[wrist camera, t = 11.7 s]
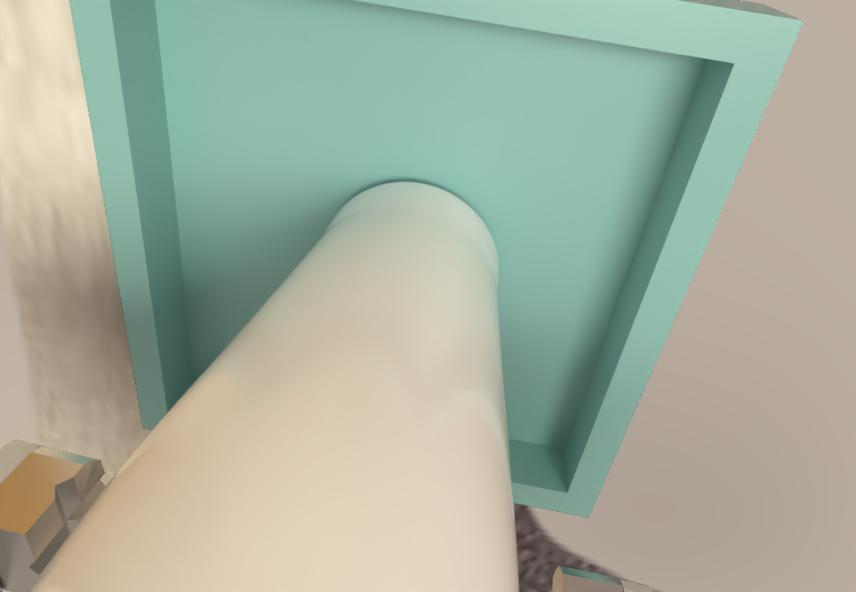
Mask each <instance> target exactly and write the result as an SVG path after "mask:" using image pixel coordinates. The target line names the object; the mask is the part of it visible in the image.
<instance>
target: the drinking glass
mask: <svg viewBox="0 0 856 592" xmlns="http://www.w3.org/2000/svg"><path fill="white" fill-rule="evenodd" d="M498 287H499V258H498V252H497V249H496V245H495V242H494V240H493V237H492V235H491V233H490V231H489V229H488V227H487V226H486V224H485V223H484V221H483V220H482V219H481V217H480V216H479V215H478V214H477V213H476V212H475V211H474V210H473V209H472V208H471V207H470V206H469V205H468V204H467V203H465V202H464V201H463V200H461V199H460V198H458V197H457V196H455V195H453V194H452V193H450V192H448V191H446V190H443V189H441V188H438V187H435V186H432V185H428V184H424V183H418V182H392V183H386V184H382V185H378V186H375V187H372V188H369V189H367V190H365V191H363V192H361V193H360V194H358V195H356V196H355V197H353V198H352V199H351V200H349V201H348V202H347V203H346V204H345V205H344V206H343V207H342V208H341V209H340V210H339V211H338V212H337V214H336V215H335V216H334V217H333V219H332V220H331V222H330V223H329V225H328V227H327V228H326V230H325V231H324V233H323V235H322V236H321V238H320V239H319V240H318V241H317V243H316V244H315V245H314V246H313V247H312V249H311V250H310V251H309V252H308V253H307V254H306V256H305V257H304V258H303V259H302V260H301V261H300V263H299V264H298V265H297V266H296V267H295V268H294V269H293V271H292V272H291V273H290V274H289V275H288V276H287V278H286V279H285V280H284V281H283V282H282V283H281V284H280V286H279V287H278V288H277V289H276V290H275V291H274V292H273V294H272V295H271V296H270V297H269V298H268V299H267V300H266V302H265V303H264V304H263V305H262V306H261V307H260V308H259V310H258V311H257V312H256V313H255V314H254V315H253V316H252V318H251V319H250V320H249V321H248V322H247V323H246V324H245V325H244V327H243V328H242V329H241V330H240V331H239V332H238V333H237V334H236V336H235V337H234V338H233V339H232V340H231V341H230V342H229V343H228V345H227V346H226V347H225V348H224V349H223V350H222V351H221V353H220V354H219V355H218V356H217V357H216V358H215V359H214V360H213V362H212V363H211V364H210V365H209V366H208V367H207V368H206V369H205V371H204V372H203V373H202V374H201V375H200V376H199V377H198V378H197V380H196V381H195V382H194V383H193V384H192V385H191V386H190V387H189V389H188V390H187V391H186V392H185V393H184V394H183V395H182V397H181V398H180V399H179V400H178V401H177V402H176V403H175V404H174V406H173V407H172V408H171V409H170V410H169V411H168V413H167V414H166V415H165V416H164V417H163V418H162V419H161V421H160V422H159V423H158V424H157V425H156V426H155V428H154V429H153V430H152V431H151V432H150V433H149V434H148V436H147V437H146V438H145V439H144V440H143V442H142V443H141V444H140V445H139V446H138V448H137V449H136V450H135V451H134V452H133V454H132V455H131V456H130V457H129V459H128V460H127V461H126V462H125V463H124V465H123V466H122V467H121V468H120V469H119V471H118V472H117V473H116V474H115V476H114V477H113V478H112V480H111V481H110V482H109V483H108V485H107V486H106V487H105V488H104V490H103V491H102V492H101V494H100V495H99V496H98V497H97V499H96V500H95V501H94V502H93V504H92V505H91V506H90V508H89V509H88V510H87V511H86V513H85V514H84V515H83V517H82V518H81V519H80V521H79V522H78V523H77V525H76V526H75V527H74V529H73V530H72V531H71V533H70V534H69V535H68V537H67V538H66V539H65V541H64V542H63V543H62V545H61V546H60V547H59V549H58V550H57V551H56V553H55V554H54V556H53V557H52V558H51V560H50V561H49V562H48V564H47V565H46V567H45V568H44V569H43V571H42V572H41V573H40V575H39V576H38V578H37V579H36V580H35V582H34V583H33V585H32V586H31V587H30V589H29V590H28V592H519V574H518V553H517V539H516V525H515V512H514V499H513V487H512V475H511V464H510V452H509V440H508V428H507V416H506V404H505V392H504V379H503V367H502V354H501V340H500V326H499V312H498Z"/></svg>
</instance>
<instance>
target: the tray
mask: <svg viewBox="0 0 856 592" xmlns="http://www.w3.org/2000/svg"><path fill="white" fill-rule="evenodd" d="M69 2H70V7H71V13H72V19H73V25H74V31H75V36H76V42H77V48H78V54H79V60H80V65H81V71H82V77H83V83H84V88H85V94H86V100H87V106H88V112H89V117H90V123H91V129H92V135H93V141H94V146H95V152H96V158H97V164H98V170H99V175H100V181H101V187H102V193H103V199H104V204H105V210H106V216H107V222H108V228H109V233H110V239H111V245H112V251H113V256H114V262H115V268H116V274H117V280H118V285H119V291H120V297H121V303H122V309H123V314H124V320H125V326H126V332H127V338H128V343H129V349H130V355H131V361H132V367H133V372H134V378H135V384H136V390H137V396H138V401H139V407H140V413H141V419H142V424H143V429H148V430H153V429H154V428H155V426H156V425H157V424H158V423H159V422H160V421H161V419H162V418H163V417H164V416H165V415H166V414H167V413H168V411H169V410H170V409H171V408H172V407H173V406H174V404H175V403H176V402H177V401H178V400H179V399H180V398H181V397H182V395H183V394H184V393H185V392H186V391H187V390H188V389H189V387H190V386H191V385H192V384H193V383H194V382H195V381H196V380H197V378H198V377H199V376H200V375H201V374H202V373H203V372H204V371H205V369H206V368H207V367H208V366H209V365H210V364H211V363H212V362H213V360H214V359H215V358H216V357H217V356H218V355H219V354H220V353H221V351H222V350H223V349H224V348H225V347H226V346H227V345H228V343H229V342H230V341H231V340H232V339H233V338H234V337H235V336H236V334H237V333H238V332H239V331H240V330H241V329H242V328H243V327H244V325H245V324H246V323H247V322H248V321H249V320H250V319H251V318H252V316H253V315H254V314H255V313H256V312H257V311H258V310H259V308H260V307H261V306H262V305H263V304H264V303H265V302H266V300H267V299H268V298H269V297H270V296H271V295H272V294H273V292H274V291H275V290H276V289H277V288H278V287H279V286H280V284H281V283H282V282H283V281H284V280H285V279H286V278H287V276H288V275H289V274H290V273H291V272H292V271H293V269H294V268H295V267H296V266H297V265H298V264H299V263H300V261H301V260H302V259H303V258H304V257H305V256H306V254H307V253H308V252H309V251H310V250H311V249H312V247H313V246H314V245H315V244H316V243H317V241H318V240H319V239H320V238H321V236H322V235H323V233H324V231H325V230H326V228H327V227H328V225H329V223H330V222H331V220H332V219H333V217H334V216H335V215H336V214H337V212H338V211H339V210H340V209H341V208H342V207H343V206H344V205H345V204H346V203H347V202H348V201H349V200H351V199H352V198H353V197H355V196H356V195H358V194H360V193H361V192H363V191H365V190H367V189H369V188H372V187H375V186H378V185H382V184H386V183H392V182H418V183H424V184H428V185H432V186H435V187H438V188H441V189H443V190H446V191H448V192H450V193H452V194H453V195H455V196H457V197H458V198H460V199H461V200H463V201H464V202H465V203H467V204H468V205H469V206H470V207H471V208H472V209H473V210H474V211H475V212H476V213H477V214H478V215H479V216H480V217H481V219H482V220H483V221H484V223H485V224H486V226H487V227H488V229H489V231H490V233H491V235H492V237H493V240H494V242H495V245H496V249H497V252H498V258H499V287H498V312H499V326H500V340H501V354H502V367H503V379H504V392H505V404H506V416H507V428H508V440H509V452H510V464H511V475H512V487H513V499H514V503H517V504H522V505H527V506H532V507H537V508H542V509H547V510H552V511H557V512H562V513H567V514H572V515H577V516H582V517H587V518H589V516H590V514H591V511H592V509H593V507H594V504H595V502H596V500H597V498H598V495H599V493H600V491H601V488H602V486H603V483H604V481H605V479H606V477H607V474H608V472H609V470H610V467H611V465H612V463H613V460H614V458H615V456H616V453H617V451H618V449H619V447H620V444H621V442H622V440H623V437H624V435H625V433H626V430H627V428H628V426H629V424H630V421H631V419H632V416H633V414H634V412H635V410H636V407H637V405H638V403H639V400H640V398H641V396H642V393H643V391H644V389H645V386H646V384H647V382H648V380H649V377H650V375H651V373H652V370H653V368H654V366H655V363H656V361H657V359H658V356H659V354H660V352H661V349H662V347H663V345H664V343H665V340H666V338H667V336H668V333H669V331H670V329H671V326H672V324H673V322H674V319H675V317H676V315H677V313H678V310H679V308H680V306H681V303H682V301H683V298H684V296H685V294H686V292H687V289H688V287H689V285H690V282H691V280H692V278H693V276H694V273H695V271H696V269H697V266H698V264H699V262H700V259H701V257H702V255H703V252H704V250H705V248H706V245H707V243H708V241H709V238H710V236H711V234H712V232H713V229H714V227H715V225H716V222H717V220H718V217H719V215H720V213H721V211H722V208H723V206H724V204H725V201H726V199H727V197H728V195H729V192H730V190H731V188H732V185H733V183H734V181H735V178H736V176H737V174H738V171H739V169H740V167H741V164H742V162H743V160H744V157H745V155H746V153H747V150H748V148H749V146H750V144H751V141H752V139H753V136H754V134H755V132H756V130H757V127H758V125H759V123H760V121H761V118H762V116H763V114H764V111H765V109H766V106H767V104H768V102H769V100H770V97H771V95H772V93H773V90H774V88H775V86H776V83H777V81H778V79H779V77H780V74H781V72H782V69H783V67H784V65H785V63H786V60H787V58H788V56H789V53H790V51H791V49H792V47H793V44H794V42H795V40H796V37H797V35H798V33H799V30H800V28H801V26H802V23H803V20H801V19H798V18H796V17H793V16H790V15H788V14H786V13H783V12H781V11H778V10H776V9H773V8H771V7H768V6H766V5H764V4H759V3H752V2H746V1H740V0H69Z"/></svg>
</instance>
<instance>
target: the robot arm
mask: <svg viewBox="0 0 856 592" xmlns="http://www.w3.org/2000/svg"><path fill="white" fill-rule="evenodd" d="M104 473H105V472H104V469H103V466H102V463H101V460H97V459H93V458H89V457H85V456H81V455H77V454H73V453H68V452H64V451H60V450H56V449H52V448H48V447H45V446H41V445H37V444H32V443H28V442H24V441H19V440H15V441H13V442H11V443H9V444H7V445H5V446H3V448H1V450H0V592H3V591H2V590H6V591H11V592H28V590H29V589H30V587H31V586H32V585H33V583H34V582H35V580H36V579H37V578H38V576H39V575H40V573H41V572H42V571H43V569H44V568H45V567H46V565H47V564H48V562H49V561H50V560H51V558H52V557H53V556H54V554H55V553H56V551H57V550H58V549H59V547H60V546H61V545H62V543H63V542H64V541H65V539H66V538H67V537H68V535H69V534H70V533H71V531H72V530H73V529H74V527H75V526H76V525H77V523H78V522H79V521H80V519H81V518H82V517H83V515H84V514H85V513H86V511H87V510H88V509H89V508H90V506H91V505H92V504H93V502H94V501H95V500H96V499H97V497H98V496H99V495H100V494H101V492H102V491H103V490H104V488H105V487H106V486H105V485H104V484H103V483H102V482H101V481H100V478H101V477H102V476H103V474H104ZM548 592H653V591H652V589H651V587H649V586H648V585H643V584H638V583H634V582H629V581H624V580H619V579H618V578H615V577H611V576H606V575H601V574H596V573H592V572H587V571H582V570H578V569H573V568H568V567H564V566H559V567H558V568H557V569H556V571H555V573H554V576H553V590H551V591H548Z"/></svg>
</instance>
